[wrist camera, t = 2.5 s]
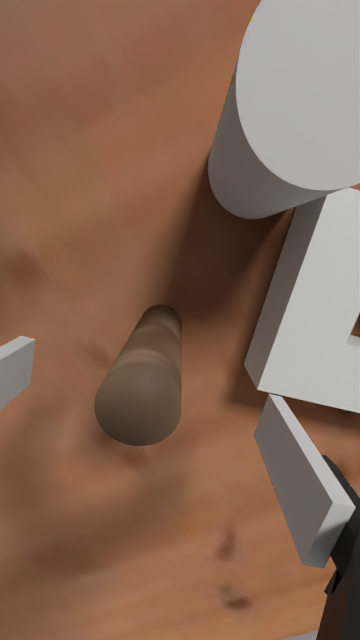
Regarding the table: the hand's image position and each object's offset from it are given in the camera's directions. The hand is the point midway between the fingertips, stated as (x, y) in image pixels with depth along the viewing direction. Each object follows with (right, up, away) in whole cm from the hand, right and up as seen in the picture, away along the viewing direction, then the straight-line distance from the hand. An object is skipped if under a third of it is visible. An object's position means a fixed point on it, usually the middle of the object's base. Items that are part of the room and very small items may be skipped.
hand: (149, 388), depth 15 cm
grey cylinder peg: (+8, +17, +8) cm, 20 cm away
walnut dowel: (0, +3, +11) cm, 12 cm away
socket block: (+18, +5, +11) cm, 21 cm away
